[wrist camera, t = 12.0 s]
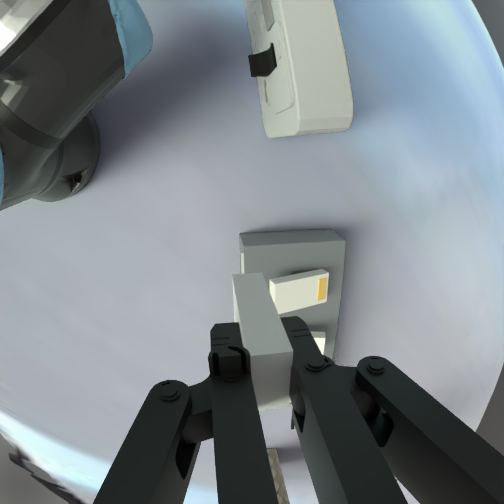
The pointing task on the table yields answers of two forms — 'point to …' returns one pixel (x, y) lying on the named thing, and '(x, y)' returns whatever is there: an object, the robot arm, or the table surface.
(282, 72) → the rounded white slab
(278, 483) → the lamp
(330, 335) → the switch unit
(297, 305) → the rocker
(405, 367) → the table surface
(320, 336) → the rocker
